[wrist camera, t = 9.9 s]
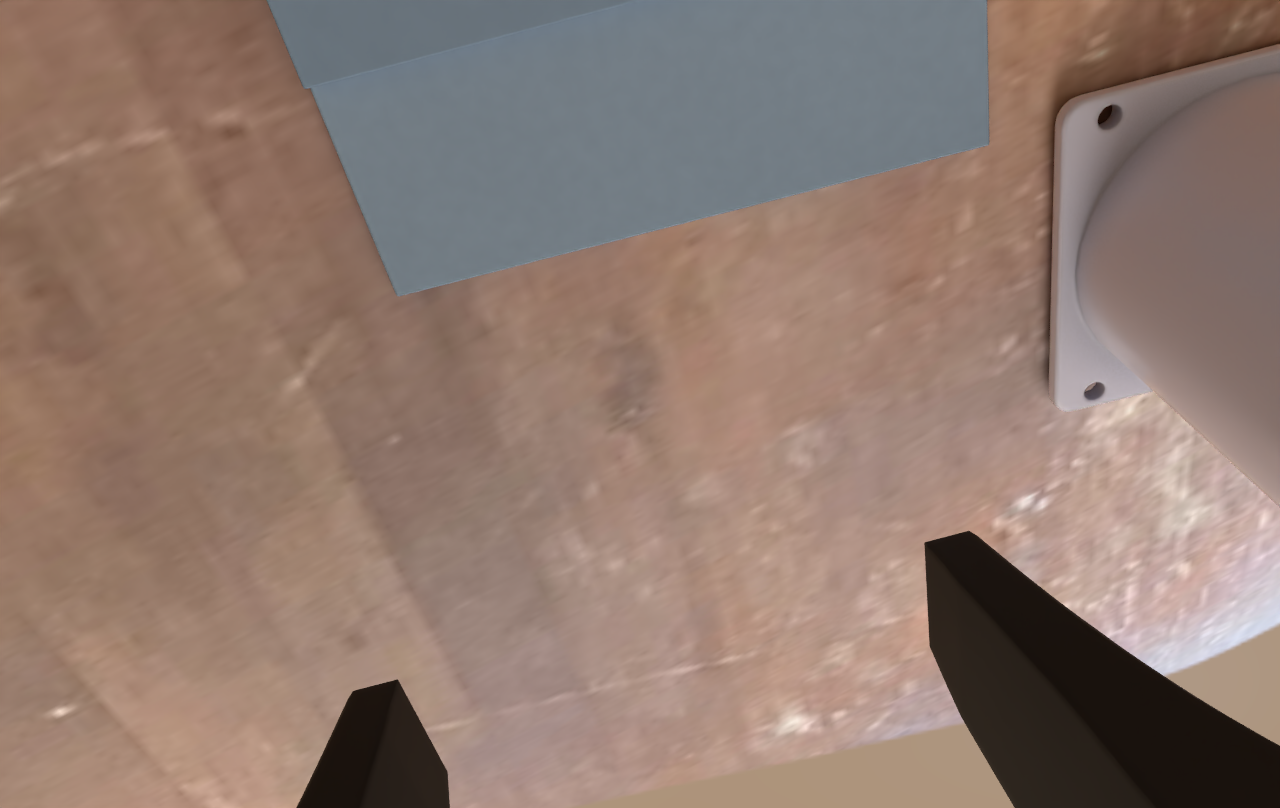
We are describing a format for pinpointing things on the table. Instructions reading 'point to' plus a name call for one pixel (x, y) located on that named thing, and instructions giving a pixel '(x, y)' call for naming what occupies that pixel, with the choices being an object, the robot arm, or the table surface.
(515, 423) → the table surface
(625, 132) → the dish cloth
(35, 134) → the table surface
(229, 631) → the table surface
